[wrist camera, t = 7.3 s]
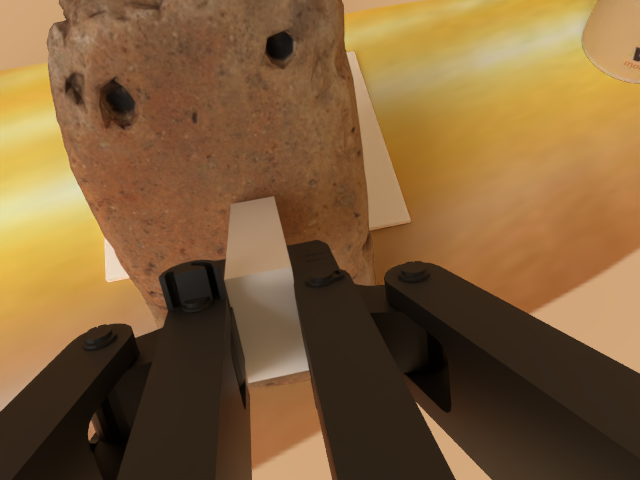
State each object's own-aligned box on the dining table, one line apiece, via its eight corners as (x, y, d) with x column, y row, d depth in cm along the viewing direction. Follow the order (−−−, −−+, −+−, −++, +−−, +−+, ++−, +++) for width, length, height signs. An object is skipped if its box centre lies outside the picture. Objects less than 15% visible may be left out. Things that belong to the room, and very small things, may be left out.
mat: (108, 282, 32) (105, 280, 31) (101, 96, 38) (99, 93, 38) (409, 222, 33) (410, 219, 33) (353, 54, 40) (354, 51, 40)
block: (351, 271, 32) (313, -99, 18) (388, 370, 26) (374, -47, 13) (183, 312, 31) (8, -43, 17) (186, 423, 26) (-66, 38, 12)
